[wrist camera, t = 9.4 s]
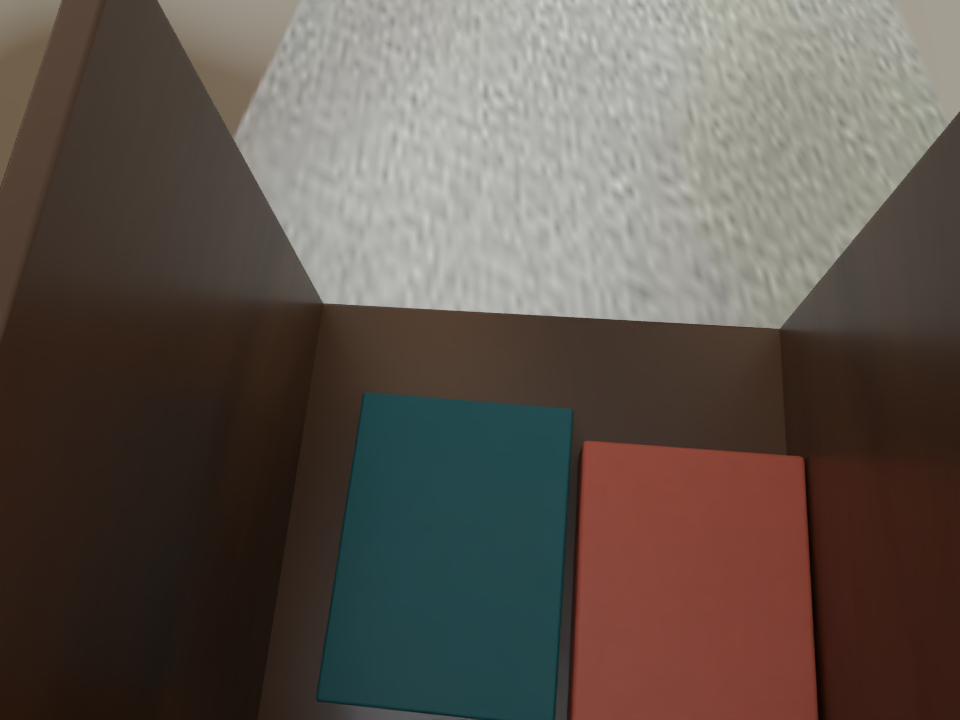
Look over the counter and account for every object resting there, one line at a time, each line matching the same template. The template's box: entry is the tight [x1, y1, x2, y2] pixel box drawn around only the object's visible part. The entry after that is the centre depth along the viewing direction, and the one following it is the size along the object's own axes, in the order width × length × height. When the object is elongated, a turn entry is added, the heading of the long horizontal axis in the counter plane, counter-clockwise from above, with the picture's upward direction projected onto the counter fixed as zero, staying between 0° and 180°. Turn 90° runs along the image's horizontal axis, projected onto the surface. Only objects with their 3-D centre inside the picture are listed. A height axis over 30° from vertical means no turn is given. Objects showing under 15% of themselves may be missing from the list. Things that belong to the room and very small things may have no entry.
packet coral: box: [567, 441, 818, 720], centre depth 15 cm, size 4×6×1 cm
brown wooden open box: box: [0, 0, 960, 720], centre depth 12 cm, size 12×11×11 cm
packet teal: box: [316, 392, 574, 720], centre depth 16 cm, size 4×6×1 cm
